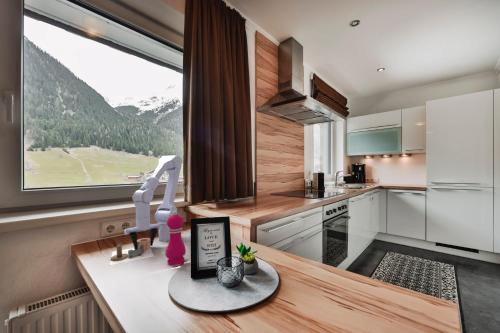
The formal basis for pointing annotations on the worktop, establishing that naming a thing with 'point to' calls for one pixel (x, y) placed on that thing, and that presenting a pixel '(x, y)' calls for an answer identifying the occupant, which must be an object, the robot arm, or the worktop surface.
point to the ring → (144, 243)
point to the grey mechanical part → (136, 252)
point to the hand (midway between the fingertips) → (143, 247)
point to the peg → (119, 254)
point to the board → (144, 255)
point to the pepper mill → (175, 241)
